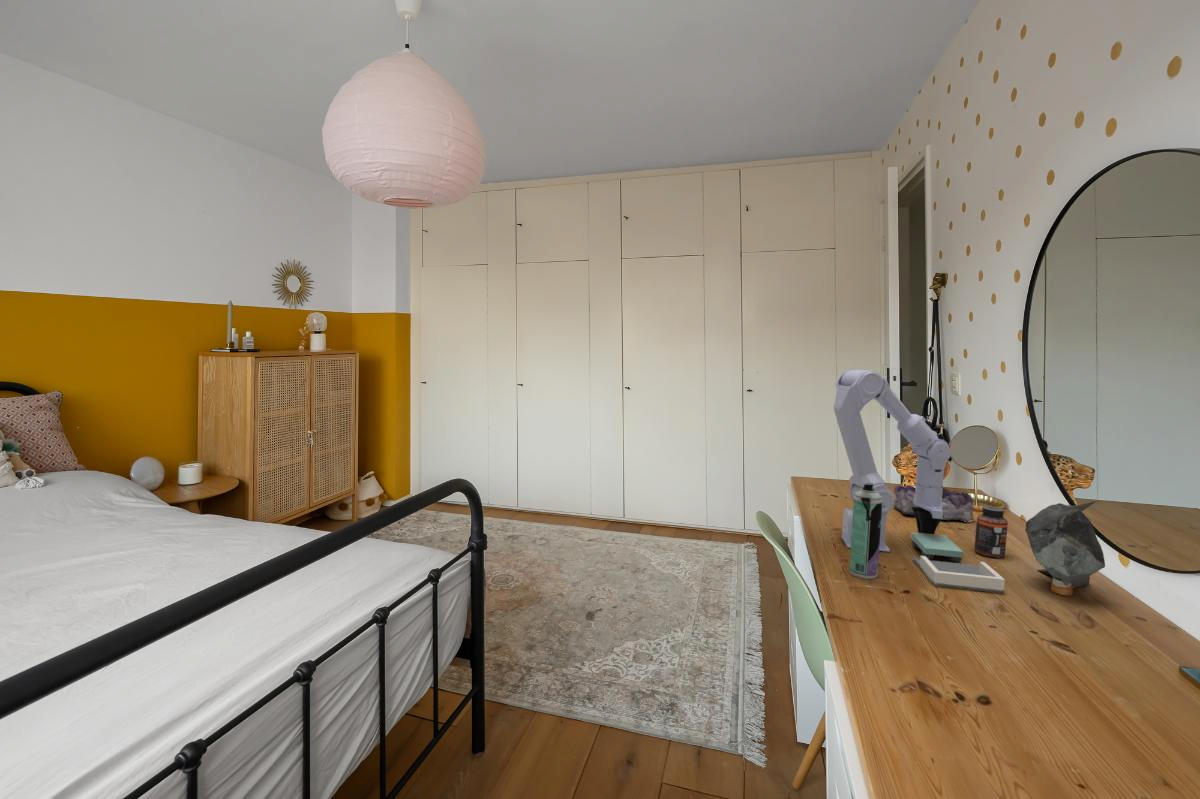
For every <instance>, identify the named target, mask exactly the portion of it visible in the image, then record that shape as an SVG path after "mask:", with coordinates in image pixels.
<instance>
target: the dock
mask: <svg viewBox="0 0 1200 799" xmlns="http://www.w3.org/2000/svg"><path fill="white" fill-rule="evenodd" d="M911 560H912V562H914V564H915V565H916V566H917V568H918V569H919V570H920V571H921V573H922V574H923V575H924V576H925V577H926V579H928V581H929V582H930V583H931V584H933V585H934V586H933V585H932V586H933V587H937V586H940V588H945V587H949V588H948V589H954V588H961V589H960V590H963V589H970V590H969V591H972V590H979V591H978V592H981V591H985V592H984V593H992V594H999V595H1004V593H1005V582H1006V579H1005V578H1004V577H1003V576H1001V575H1000V574H999V573H998V572H997V571H996V570H994V569H993V568H992V567H991V566H990V565H988V564H987V563H986V562H985V561H979V562H978V565H976V564H972V563H961V562H959V563H953V562H952V561H951V562H950V561H942V562H941V560H940V561H939V560H933V559H932V560H928V558H927V557H926V556H922V555H920V558H911ZM941 586H942V587H941Z"/></svg>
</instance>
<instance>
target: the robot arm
mask: <svg viewBox="0 0 1200 799" xmlns="http://www.w3.org/2000/svg"><path fill="white" fill-rule="evenodd" d="M835 386H836V394H835V398H834V405H833V412H834V415H835V417H836V418H835V419H836V422H837V425H838V428H839V431H840V435H841V439H842V442H843V444H844V448H845V452H846V454H847V455H846V456H847V459H848V462H849V465H850V468H851V469H850V470H851V472H852V476H850V477H849V480H848V481H849V485H850V488H849V496H850V498H851V500H852V501H853V502H854V496H855V492H858V491H860V490H861V489H862V488H863V487H864V484H867V483H871V484H873V488H874V490H876V492H877V493H878V494H879V495H881V496H882V515H881V530H880V546H879V552H889V553H890V551H891V549H890V548H889V547H888V545H887V544H886V531H887V530H886V528H887V515H889V511H890V510H892V508H893V507H894V502H895V496H894V493H892V492H891V490H890V489H888V486H887V482H886V481H885V480H884V479H883V477H882V476H881V475H880V474H879V473H878V471H877V467H876V463H875V460H874V457H873V453H872V450H871V446H870V443H869V440H868V439H869V438H868V436H867V432H866V428H865V425H864V423H863V418H862V414H861V411H862V410H863V408H864V407H865V406H866V405H867V404H868V403H870V402H871V401H872V400H875V401H876V402H878V403H879V404H880V406H881V407H882V408H884V410H886V411H887V412H888V414H889V415H890V416H891V417H893V419H894V420H895V421H896V422H897V425H896V429H897V430H898V432H899V433H900V434H901V435H902V436H903V437H904V438H905V439H906V440H907V442H908V443H910V445H911V446H912V447H911V449H912V453H913V454H914V455H916V456H917V460H916V462H917V463H916V464H917V465H916V477H915V494H914V504H915V505H916V506H918V507H912V511H913V513H914V515H913V516H914V518H915V522H916V528H917V533H926V534H935V532H936V530H937V528H938V526H939V524H940V523H941V522H942V521H941V520H942V519H943V518H944V516H943V511H942V507H947V504H946V503H944V502H942V490H943V488H944V487H943V486H944V474H945V468H946V467H947V462H948V461H949V459H950V458H951V456H952V453H953V451H952V450H951V449H950V445H949V444H948V442H947V441H945V440H944V439H942V438H941V439H940V438H939V437H938V433H937V432H936V431H934V430H933V429H932V428H931V427H930V425H928V424H927V423H926V421H927V419H926V418H925V416H922V415H919V414H916V413H911V412H910V411H909V410H908V408H906V406H905V404H903V402H902V401H901V400H900V398H899V397H898V395H897V394H896V393H895V392H894V391H893V389H892V388H891V386H890V385H889V382H888V380H886V379H885V378H884V377H883V376H882V374H881V373H880V372H878V371H876V370H874V369H873V370H871V369H868V370H863V369H855V368H848V369H846V370H844V371H843V372H842V373H841V375H840V376H839V377H838V378H837V380H836V381H835ZM852 520H853V507H852V508H847V507H846V508H844V510H843V519H842V535H841V538H842V540H843V542H844V544H845V546H846V547H847V548H848V549H851V537H852Z"/></svg>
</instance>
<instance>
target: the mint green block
mask: <svg viewBox="0 0 1200 799" xmlns="http://www.w3.org/2000/svg"><path fill="white" fill-rule="evenodd" d="M910 539H911V540H912V541H911V544H912V546H913V548H915V549H920V550H921V551H922V552H921V556H926V557H927V558H928V560H932V561H933V559H934V558H935V556H944V557H948V559H949V561H951V562H952V563H953V562H954V563H961V561H962V560H963V557H964V551H963V550H962V549H961V548H960V547H959V546H958V545H957V544H955V543H954V542H953V541H952V540H951V539H950V538H949V537H948V536H947V535H945V534H938V533H937V534H935V533H934V534H926V533H918V532H915V531H914V532H913V531H911V532H910Z"/></svg>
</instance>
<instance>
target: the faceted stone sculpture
mask: <svg viewBox="0 0 1200 799" xmlns="http://www.w3.org/2000/svg"><path fill="white" fill-rule="evenodd" d="M1095 503H1097V500H1094V501H1090V502H1086V503H1081V504H1076V505H1071V504H1070V505H1069V504H1064V503H1061V502H1060V503H1056V504H1050V505H1048V506H1047V507H1045V508H1043V509H1041V510H1040V511H1039V512H1038V513H1036V514H1035V515H1033V517H1031V518H1029V519H1027V521H1025V529H1024V531H1025V533H1026V535H1027V538H1028V542H1029V545H1030V548H1031V550H1032V554H1033V556H1034V557H1035V560H1036V562H1038V563H1039V564H1040V565H1042V566H1043V567H1044V568H1042V569H1037V570H1036V571H1038V572H1040V573H1043V574H1045V575H1049V576H1051V577H1052V581H1051V587H1050V590H1051V591H1052V593H1055V594H1058V595H1061V596H1067V597H1072V596H1074V589H1076V588H1079V587H1083V586H1087V585H1090V581H1091V576H1093V575H1094V574H1097V573H1098V572H1099V571H1100V570H1102V569H1104V568H1105V567H1106V563H1105V555H1104V550H1103V549H1102V546H1101V544H1100V542H1099V540H1098V536H1097V535H1096V532H1095V531H1096V530H1095V529H1094V527H1093V525H1092V522H1091V519H1089V517H1088V516H1087V515H1086V514H1085V513H1084V511H1085V510H1086V509H1088V508H1089V507H1090V506H1092V505H1094V504H1095Z"/></svg>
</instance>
